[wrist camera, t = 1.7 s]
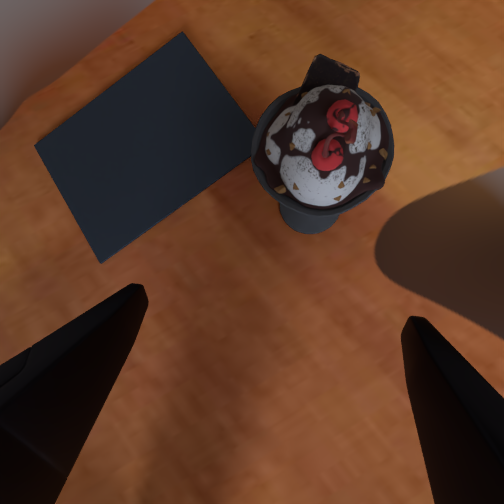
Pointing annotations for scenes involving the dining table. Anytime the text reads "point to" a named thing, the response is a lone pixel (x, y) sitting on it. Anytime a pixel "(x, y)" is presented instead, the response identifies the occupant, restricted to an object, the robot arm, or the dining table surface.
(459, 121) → the dining table surface
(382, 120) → the sundae
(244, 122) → the dark blue rectangular panel
